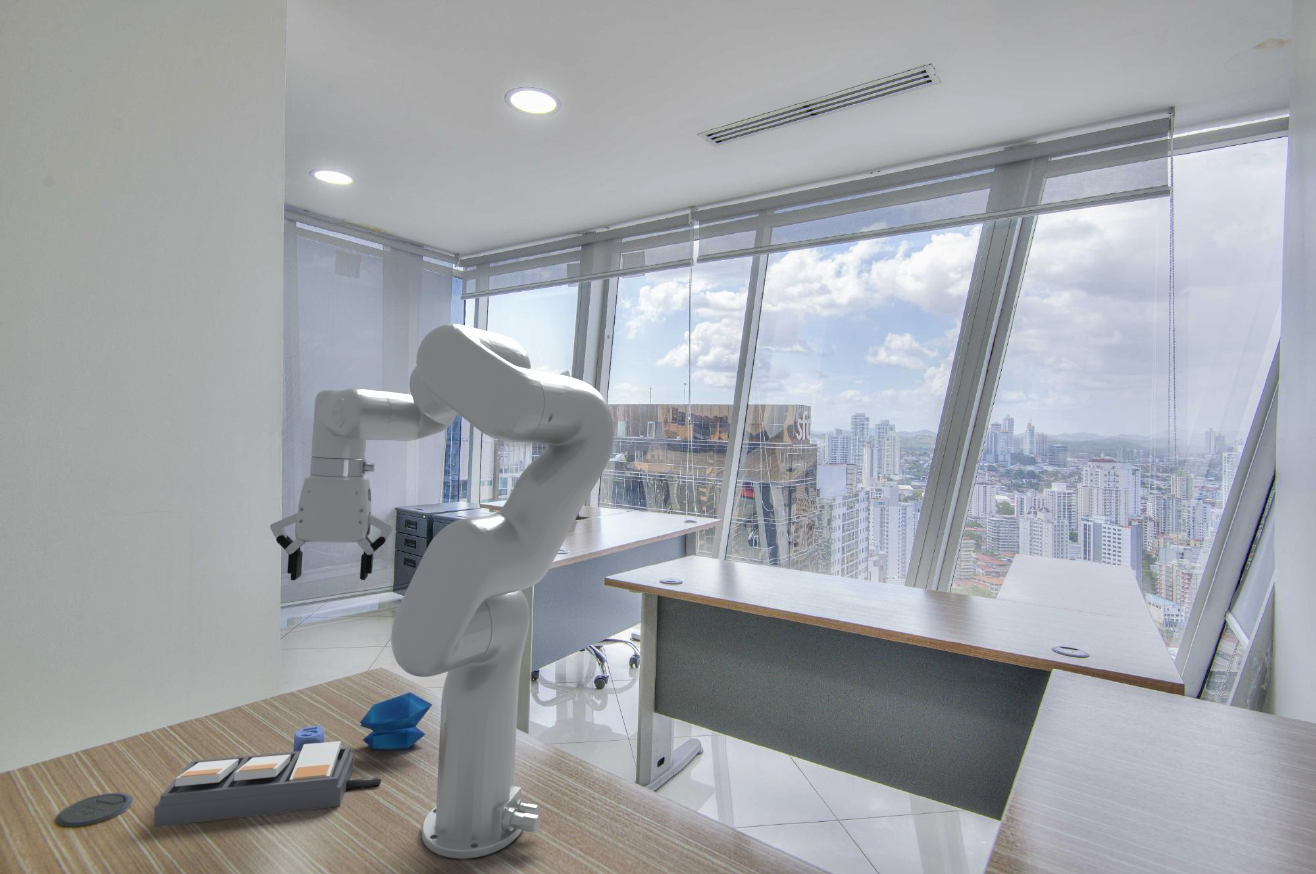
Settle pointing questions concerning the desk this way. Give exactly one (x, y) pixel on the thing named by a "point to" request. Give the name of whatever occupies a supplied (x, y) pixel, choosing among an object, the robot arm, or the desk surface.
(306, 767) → the rocker
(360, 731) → the desk surface
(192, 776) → the rocker
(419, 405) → the robot arm
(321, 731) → the decorative dice
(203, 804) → the strip
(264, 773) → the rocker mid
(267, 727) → the desk surface
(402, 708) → the crystal
